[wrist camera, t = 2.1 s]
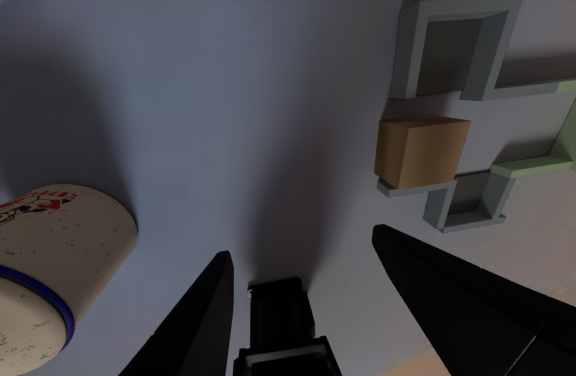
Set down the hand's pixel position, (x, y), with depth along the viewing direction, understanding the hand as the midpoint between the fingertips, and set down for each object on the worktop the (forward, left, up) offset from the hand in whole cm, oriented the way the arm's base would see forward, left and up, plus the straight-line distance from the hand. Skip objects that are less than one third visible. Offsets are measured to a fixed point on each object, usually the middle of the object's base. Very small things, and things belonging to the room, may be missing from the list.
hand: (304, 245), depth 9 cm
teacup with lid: (-19, -4, -11) cm, 22 cm away
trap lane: (+20, 0, -11) cm, 23 cm away
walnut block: (+12, 0, -11) cm, 16 cm away
